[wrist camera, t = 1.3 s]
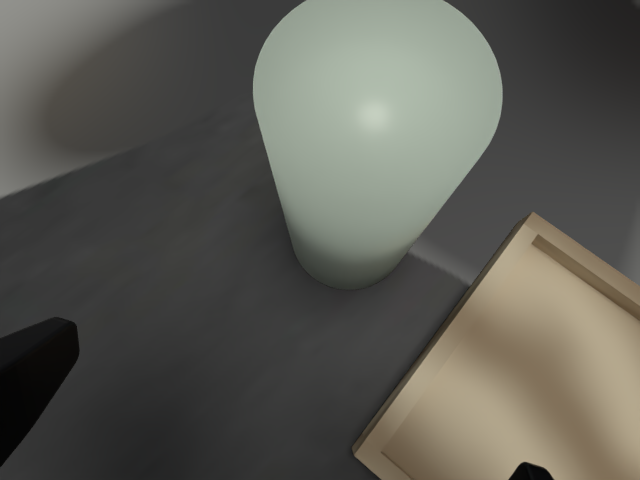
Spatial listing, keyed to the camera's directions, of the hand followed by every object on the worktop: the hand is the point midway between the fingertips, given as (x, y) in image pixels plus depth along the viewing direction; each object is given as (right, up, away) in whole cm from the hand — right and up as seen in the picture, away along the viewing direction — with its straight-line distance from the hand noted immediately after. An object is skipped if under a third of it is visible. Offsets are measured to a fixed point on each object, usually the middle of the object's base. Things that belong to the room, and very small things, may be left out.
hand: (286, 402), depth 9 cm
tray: (+11, -5, +12) cm, 17 cm away
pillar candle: (+2, +4, +15) cm, 15 cm away
